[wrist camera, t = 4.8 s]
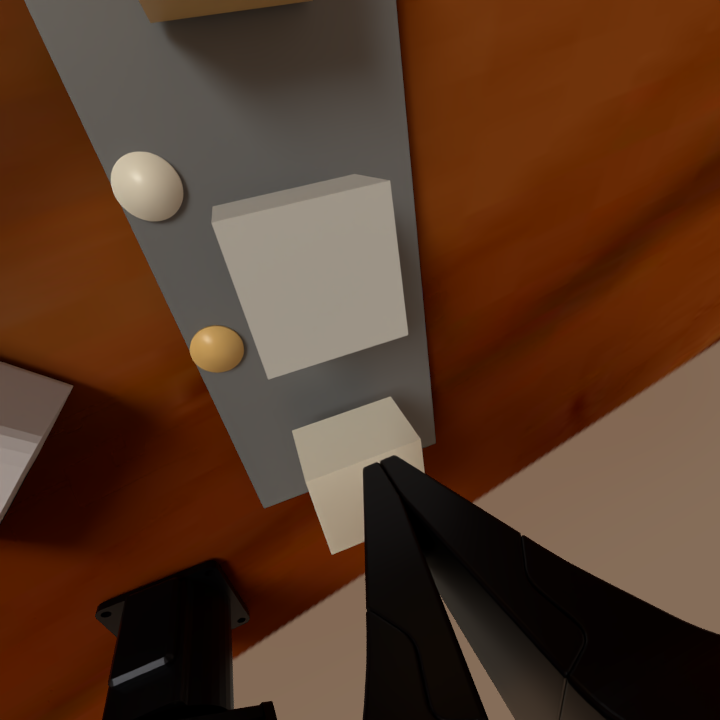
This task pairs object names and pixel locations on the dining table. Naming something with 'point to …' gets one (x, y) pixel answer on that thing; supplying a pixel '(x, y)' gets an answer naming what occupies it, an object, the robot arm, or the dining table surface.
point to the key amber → (202, 7)
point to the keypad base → (249, 183)
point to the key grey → (315, 269)
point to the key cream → (351, 463)
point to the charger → (24, 424)
